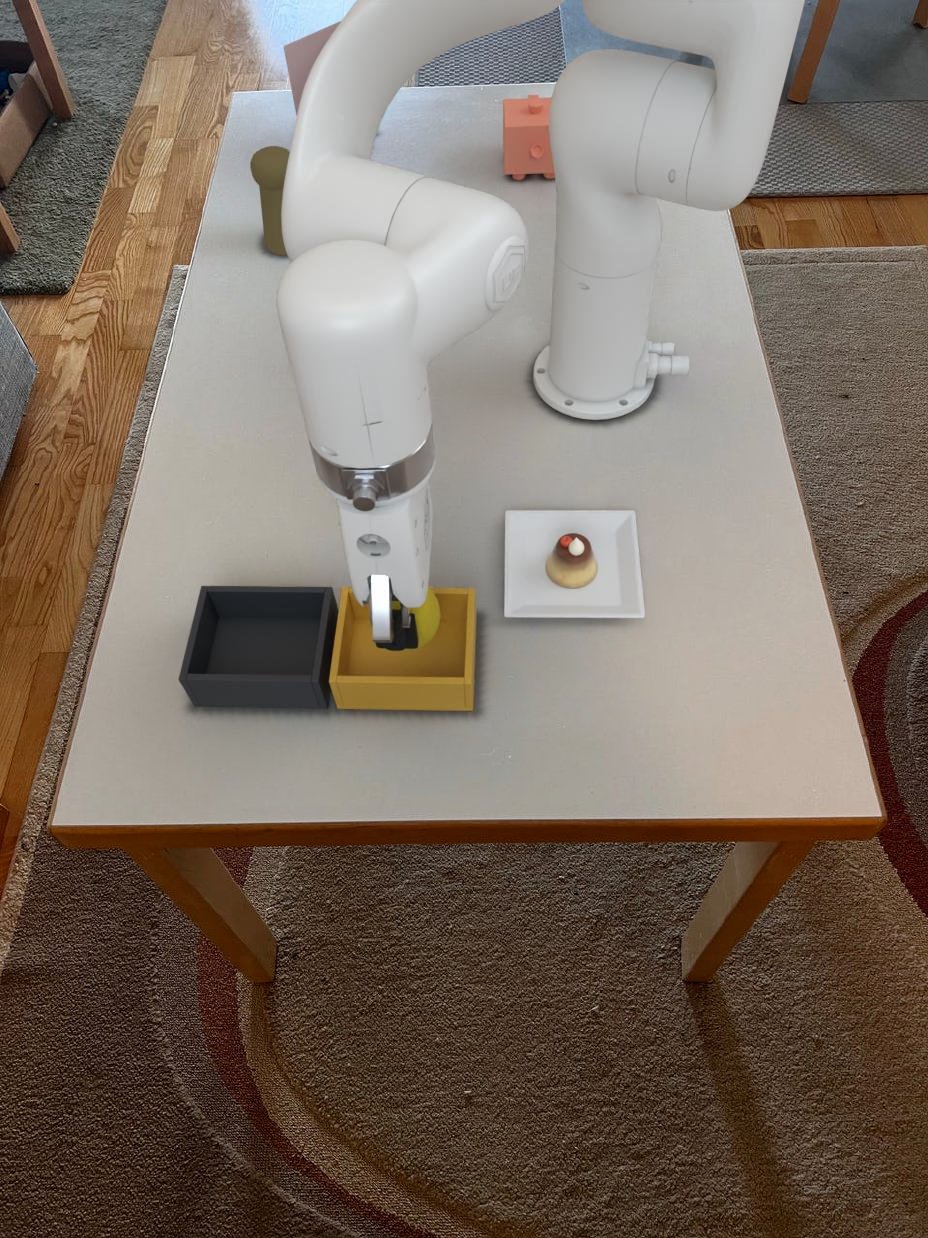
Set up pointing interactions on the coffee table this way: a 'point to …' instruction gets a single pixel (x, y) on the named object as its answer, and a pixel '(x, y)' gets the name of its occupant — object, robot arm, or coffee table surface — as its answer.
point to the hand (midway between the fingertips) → (400, 609)
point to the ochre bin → (406, 660)
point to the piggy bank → (527, 137)
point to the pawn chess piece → (271, 193)
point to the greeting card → (304, 59)
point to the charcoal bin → (261, 647)
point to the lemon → (424, 618)
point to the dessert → (572, 564)
